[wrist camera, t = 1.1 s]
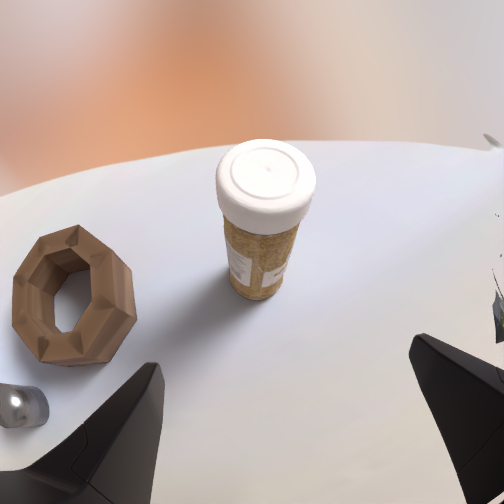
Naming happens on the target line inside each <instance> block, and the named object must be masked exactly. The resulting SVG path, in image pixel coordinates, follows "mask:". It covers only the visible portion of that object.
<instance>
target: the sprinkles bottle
mask: <svg viewBox="0 0 504 504" xmlns="http://www.w3.org/2000/svg"><path fill="white" fill-rule="evenodd" d="M315 185H316V177H315V172H314V169H313V167H312V165H311V163H310V162H309V160H308V159H307V158H306V156H305V155H304V154H302V153H301V152H300V151H299V150H298V149H296V148H294V147H292V146H290V145H288V144H286V143H283V142H280V141H276V140H269V139H258V140H251V141H247V142H244V143H241V144H239V145H237V146H235V147H233V148H232V149H230V150H229V151H228V152H227V153H226V154H225V155H224V156H223V157H222V159H221V160H220V162H219V164H218V167H217V170H216V191H217V199H218V204H219V207H220V209H221V211H222V213H223V217H224V234H225V241H226V248H227V256H228V262H229V268H230V280H231V283H232V285H233V287H234V288H235V290H236V291H237V292H238V293H239V294H240V295H242V296H244V297H245V298H249V299H252V300H262V299H266V298H267V297H270V296H272V295H273V294H274V293H276V291H277V290H278V289H279V288H280V286H281V284H282V281H283V274H284V272H285V270H286V267H287V264H288V260H289V257H290V254H291V251H292V248H293V245H294V242H295V238H296V233H297V230H298V227H299V224H300V222H301V220H302V219H303V218H304V217H305V215H306V214H307V212H308V209H309V207H310V204H311V201H312V198H313V194H314V190H315Z"/></svg>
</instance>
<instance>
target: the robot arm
mask: <svg viewBox="0 0 504 504" xmlns="http://www.w3.org/2000/svg"><path fill="white" fill-rule="evenodd" d="M409 359H410V362H411V364H412V367H413V370H414V372H415V375H416V378H417V380H418V383H419V386H420V389H421V391H422V393H423V395H424V397H425V400H426V402H427V404H428V406H429V408H430V410H431V412H432V415H433V417H434V419H435V421H436V424H437V426H438V428H439V431H440V433H441V435H442V438H443V440H444V442H445V445H446V447H447V450H448V452H449V455H450V457H451V460H452V462H453V465H454V468H455V470H456V473H457V476H458V479H459V482H460V485H461V487H462V490H463V493H464V496H465V499H466V503H467V504H487V503H489V502H490V501H491V500H493V499H494V498H496V497H497V496H498V495H500V494H501V493H502V492H504V370H502V369H500V368H498V367H495V366H494V365H491V364H489V363H487V362H485V361H483V360H481V359H479V358H476V357H474V356H472V355H470V354H468V353H466V352H464V351H462V350H459V349H457V348H455V347H453V346H451V345H449V344H447V343H444V342H442V341H440V340H438V339H436V338H434V337H432V336H430V335H427V334H425V333H422V334H418V335H415V337H414V338H413V341H412V344H411V347H410V350H409ZM164 390H165V381H164V378H163V374H162V371H161V368H160V365H159V364H158V363H156V362H147V363H145V364H144V365H143V366H142V367H141V368H140V369H139V370H138V371H137V372H136V373H135V374H134V375H133V376H131V377H130V378H129V379H128V380H127V381H126V382H125V383H124V384H123V385H122V386H121V387H120V388H119V389H118V390H117V391H116V392H115V393H114V394H113V395H112V396H111V397H110V398H109V399H108V400H107V401H105V402H104V403H103V404H102V405H101V406H100V407H99V408H98V409H97V410H96V411H95V412H94V413H93V414H92V415H91V416H90V417H89V418H88V419H87V420H86V421H85V422H84V424H81V425H80V426H79V427H78V428H77V429H76V430H75V431H74V432H73V433H72V434H71V435H69V436H68V437H67V438H66V439H65V440H64V441H62V442H61V443H60V444H59V445H57V446H56V447H55V448H53V449H52V450H51V451H49V452H48V453H47V454H45V455H44V456H43V457H41V458H40V459H39V460H37V461H36V462H34V463H33V464H32V465H30V466H28V467H26V468H24V469H21V470H15V471H0V504H150V499H151V492H152V485H153V478H154V471H155V465H156V459H157V452H158V447H159V441H160V435H161V429H162V421H163V405H164ZM499 504H504V500H503V501H502V502H500V503H499Z"/></svg>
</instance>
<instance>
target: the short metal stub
mask: <svg viewBox="0 0 504 504" xmlns="http://www.w3.org/2000/svg"><path fill="white" fill-rule="evenodd" d="M48 418H49V405H48V402H47V399H46V397H45V396H44V394H43V393H42V392H41V391H40V390H39V389H38V388H36V387H33V386H21V385H11V384H3V383H0V425H1V426H3V427H5V428H18V427H30V426H39V425H44V424H45V423H46V422H47V420H48Z"/></svg>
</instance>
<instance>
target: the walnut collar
mask: <svg viewBox="0 0 504 504" xmlns="http://www.w3.org/2000/svg"><path fill="white" fill-rule="evenodd" d="M86 269H90V277H91V297H92V301H91V302H90V304H89V306H88V307H87V309H86V310H85V312H84V313H83V315H82V316H81V318H80V319H79V321H78V323H77V324H76V326H75V327H74V329H73V331H72V332H65V333H61V331H60V330H59V329H58V328H57V327H56V326H55V316H54V296H55V294H56V293H57V291H58V290H59V288H60V287H61V285H62V284H63V282H64V281H65V279H66V278H67V276H68V275H69V274H70V273H74V272H78V271H82V270H86ZM136 321H137V315H136V308H135V300H134V291H133V282H132V272H131V270H130V268H129V267H128V266H127V265H126V264H125V263H124V262H123V261H122V260H121V259H120V258H119V257H118V256H117V255H116V254H115V252H114V251H113V250H112V249H110V248H109V247H107V246H106V245H105V244H103V243H102V242H101V241H99V240H98V239H97V238H95V237H94V236H93V235H92V234H90V233H89V232H88V231H86V230H85V229H84V228H83V227H81V226H80V225H76V226H72V227H69V228H66V229H63V230H60V231H57V232H54V233H51V234H48V235H45V236H42V237H39V239H38V240H37V242H36V243H35V245H34V246H33V248H32V249H31V250H30V252H29V253H28V255H27V256H26V258H25V259H24V261H23V263H22V264H21V266H20V267H19V269H18V270H17V272H16V274H15V275H14V277H13V296H12V327H13V328H14V329H15V331H16V332H17V333H18V335H19V336H20V337H21V339H22V340H23V341H24V343H25V344H26V345H27V347H28V348H29V349H30V350H31V352H32V353H33V354H34V355H35V357H36V358H37V359H38V360H39V362H44V363H49V364H55V365H61V366H67V367H70V366H79V365H88V364H96V363H104V362H110V361H111V359H112V358H113V356H114V354H115V353H116V351H117V350H118V348H119V347H120V345H121V344H122V342H123V340H124V339H125V337H126V336H127V334H128V333H129V331H130V330H131V328H132V327H133V325H134V324H135V322H136Z"/></svg>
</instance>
